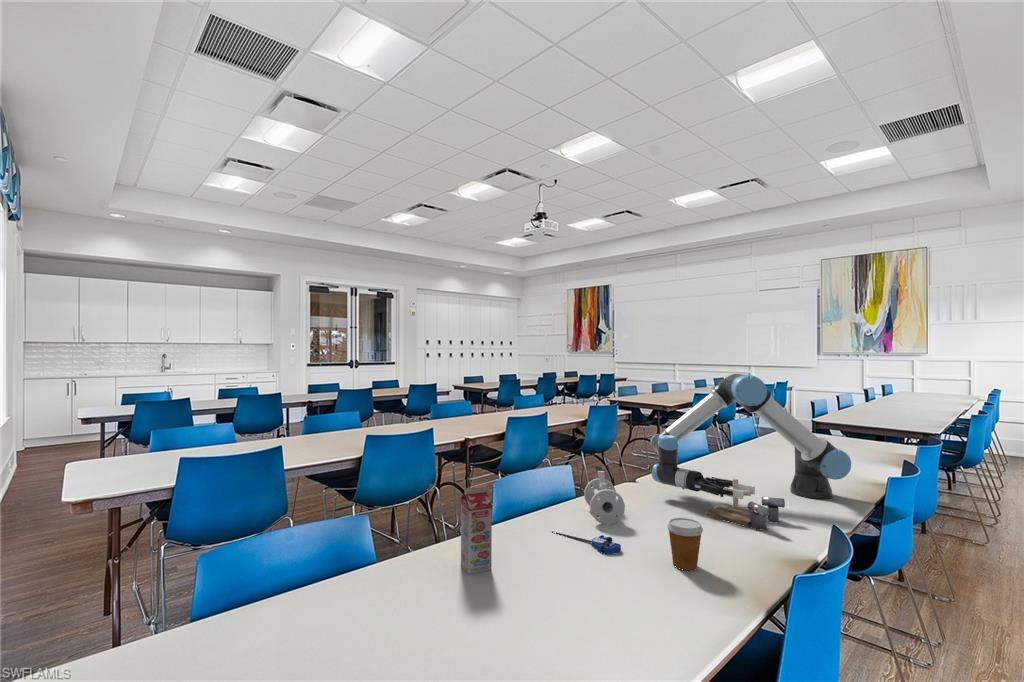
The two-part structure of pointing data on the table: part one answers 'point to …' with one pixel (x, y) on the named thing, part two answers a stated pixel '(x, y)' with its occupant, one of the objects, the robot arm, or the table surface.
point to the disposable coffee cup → (685, 542)
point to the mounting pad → (731, 514)
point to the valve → (604, 500)
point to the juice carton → (476, 530)
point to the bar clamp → (600, 544)
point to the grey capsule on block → (773, 507)
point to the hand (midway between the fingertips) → (748, 492)
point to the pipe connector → (735, 486)
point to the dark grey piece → (758, 516)
